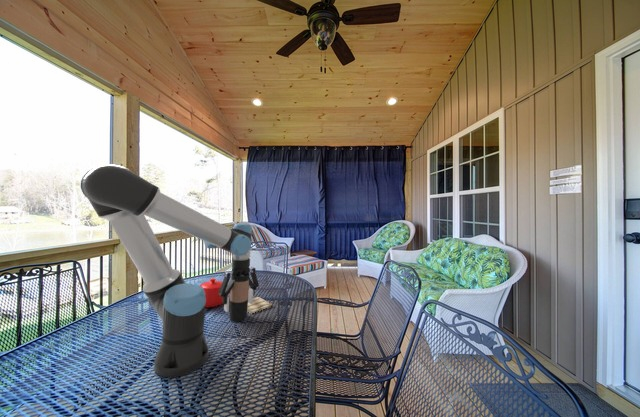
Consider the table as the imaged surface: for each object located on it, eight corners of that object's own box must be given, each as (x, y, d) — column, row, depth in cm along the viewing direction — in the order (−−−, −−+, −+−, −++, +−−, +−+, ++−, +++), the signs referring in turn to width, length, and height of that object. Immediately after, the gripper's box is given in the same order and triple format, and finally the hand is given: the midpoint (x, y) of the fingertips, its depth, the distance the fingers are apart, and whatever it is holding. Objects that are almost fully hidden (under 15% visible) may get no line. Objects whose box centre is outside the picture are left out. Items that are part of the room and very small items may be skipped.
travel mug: (236, 324, 100) (239, 277, 99) (225, 318, 104) (227, 273, 103) (250, 317, 106) (253, 273, 106) (239, 312, 111) (241, 270, 110)
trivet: (251, 314, 109) (251, 311, 109) (237, 305, 117) (238, 302, 117) (272, 306, 118) (272, 303, 118) (258, 299, 126) (258, 296, 126)
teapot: (190, 315, 105) (191, 288, 104) (181, 303, 116) (182, 278, 116) (243, 302, 121) (245, 278, 121) (231, 292, 133) (232, 270, 133)
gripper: (219, 264, 93) (216, 318, 94) (268, 256, 111) (265, 302, 111) (211, 260, 98) (208, 311, 99) (259, 253, 116) (256, 297, 116)
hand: (238, 306), depth 105 cm, fingers open, 11 cm apart
